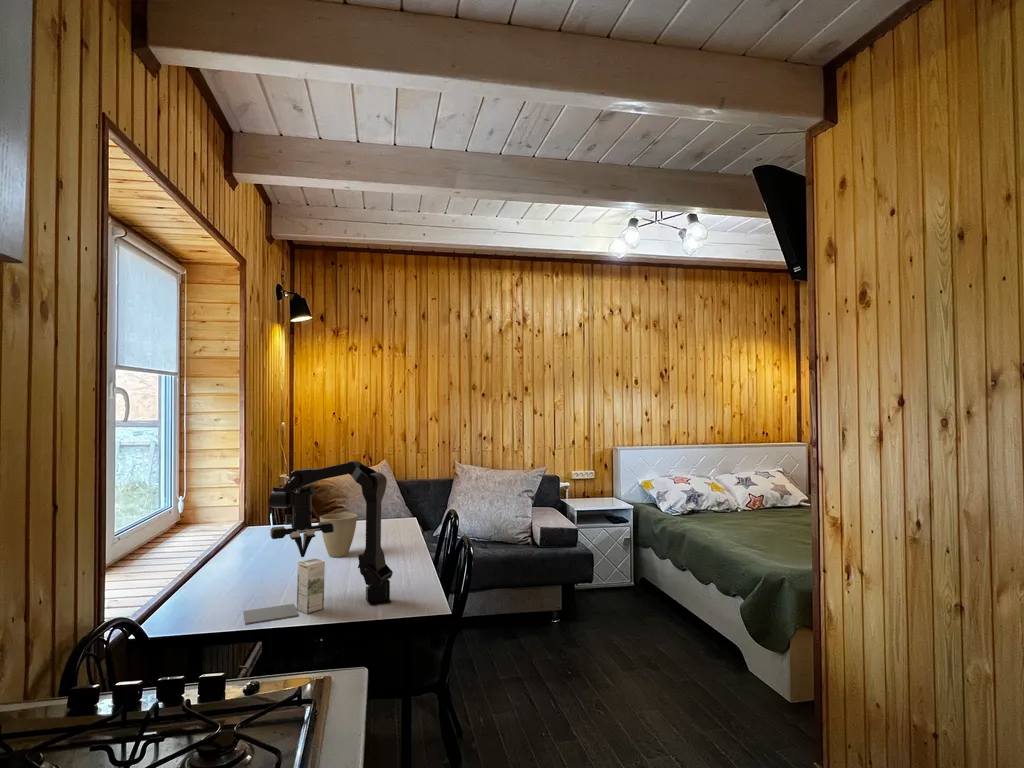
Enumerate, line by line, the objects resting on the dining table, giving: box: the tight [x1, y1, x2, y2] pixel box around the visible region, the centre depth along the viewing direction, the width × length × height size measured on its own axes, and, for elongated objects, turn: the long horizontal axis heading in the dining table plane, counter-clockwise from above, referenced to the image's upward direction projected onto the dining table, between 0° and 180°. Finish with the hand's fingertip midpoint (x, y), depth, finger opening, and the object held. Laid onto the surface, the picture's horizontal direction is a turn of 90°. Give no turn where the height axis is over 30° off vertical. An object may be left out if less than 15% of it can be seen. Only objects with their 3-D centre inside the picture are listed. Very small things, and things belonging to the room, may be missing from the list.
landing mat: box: [243, 603, 299, 625], centre depth 171 cm, size 14×11×1 cm
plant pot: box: [319, 512, 358, 558], centre depth 240 cm, size 15×15×16 cm
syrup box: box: [296, 558, 326, 615], centre depth 175 cm, size 6×6×14 cm
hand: (302, 556), depth 188 cm, fingers closed
